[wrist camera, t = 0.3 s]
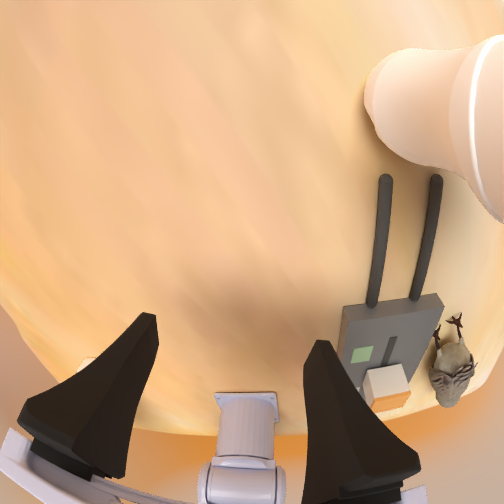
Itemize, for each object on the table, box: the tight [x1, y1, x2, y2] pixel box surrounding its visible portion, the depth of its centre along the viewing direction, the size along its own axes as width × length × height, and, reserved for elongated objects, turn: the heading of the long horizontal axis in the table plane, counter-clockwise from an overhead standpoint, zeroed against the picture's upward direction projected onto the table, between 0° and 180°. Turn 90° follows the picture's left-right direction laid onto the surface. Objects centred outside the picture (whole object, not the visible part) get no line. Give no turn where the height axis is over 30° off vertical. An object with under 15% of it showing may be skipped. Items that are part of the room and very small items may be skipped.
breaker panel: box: [337, 293, 445, 402], centre depth 27 cm, size 18×10×2 cm, turn 7°
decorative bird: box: [428, 313, 478, 408], centre depth 25 cm, size 6×17×8 cm, turn 30°
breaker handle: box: [362, 364, 411, 413], centre depth 24 cm, size 3×4×4 cm
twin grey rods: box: [366, 174, 443, 308], centre depth 20 cm, size 12×6×1 cm, turn 7°
